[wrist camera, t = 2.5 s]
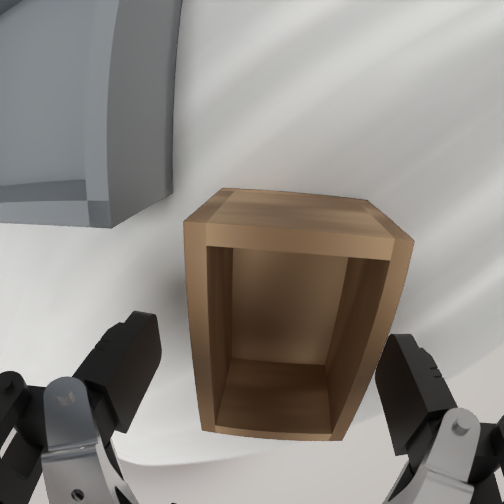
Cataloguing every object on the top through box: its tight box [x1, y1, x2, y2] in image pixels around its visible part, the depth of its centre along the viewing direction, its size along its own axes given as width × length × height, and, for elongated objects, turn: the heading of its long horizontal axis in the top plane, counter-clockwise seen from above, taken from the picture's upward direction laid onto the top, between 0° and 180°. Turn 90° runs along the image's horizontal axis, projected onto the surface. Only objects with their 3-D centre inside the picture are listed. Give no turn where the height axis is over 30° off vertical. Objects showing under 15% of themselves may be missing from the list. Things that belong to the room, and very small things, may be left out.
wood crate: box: [183, 188, 415, 441], centre depth 11 cm, size 6×9×5 cm, turn 177°
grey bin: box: [0, 0, 182, 228], centre depth 8 cm, size 16×14×5 cm
